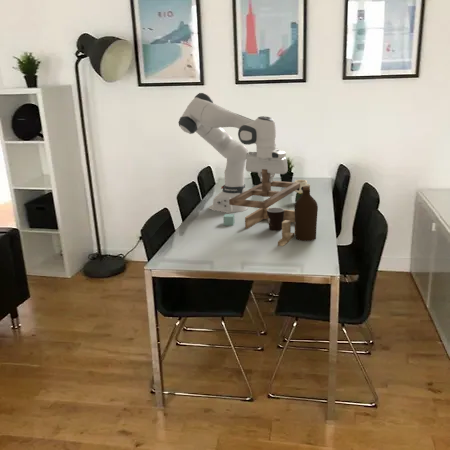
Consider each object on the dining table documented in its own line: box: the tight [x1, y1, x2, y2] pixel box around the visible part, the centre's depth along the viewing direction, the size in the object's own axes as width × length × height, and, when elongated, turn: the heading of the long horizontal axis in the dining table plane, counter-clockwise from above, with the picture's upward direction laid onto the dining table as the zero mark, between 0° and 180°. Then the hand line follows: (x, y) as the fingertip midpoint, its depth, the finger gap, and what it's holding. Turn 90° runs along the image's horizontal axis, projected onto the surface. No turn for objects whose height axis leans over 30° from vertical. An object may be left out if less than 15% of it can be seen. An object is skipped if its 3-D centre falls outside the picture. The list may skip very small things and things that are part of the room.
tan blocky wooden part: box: [277, 220, 295, 247], centre depth 236 cm, size 3×14×10 cm, turn 151°
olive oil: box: [294, 185, 319, 242], centre depth 237 cm, size 11×11×25 cm
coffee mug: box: [267, 207, 285, 232], centre depth 256 cm, size 12×9×10 cm
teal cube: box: [222, 213, 236, 226], centre depth 266 cm, size 5×5×5 cm
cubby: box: [244, 207, 296, 236], centre depth 259 cm, size 28×20×6 cm
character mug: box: [294, 179, 311, 203], centre depth 299 cm, size 11×7×13 cm, turn 80°
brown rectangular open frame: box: [229, 169, 300, 209], centre depth 241 cm, size 18×41×13 cm, turn 151°
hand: (266, 181), depth 241 cm, fingers closed on brown rectangular open frame, 3 cm apart
